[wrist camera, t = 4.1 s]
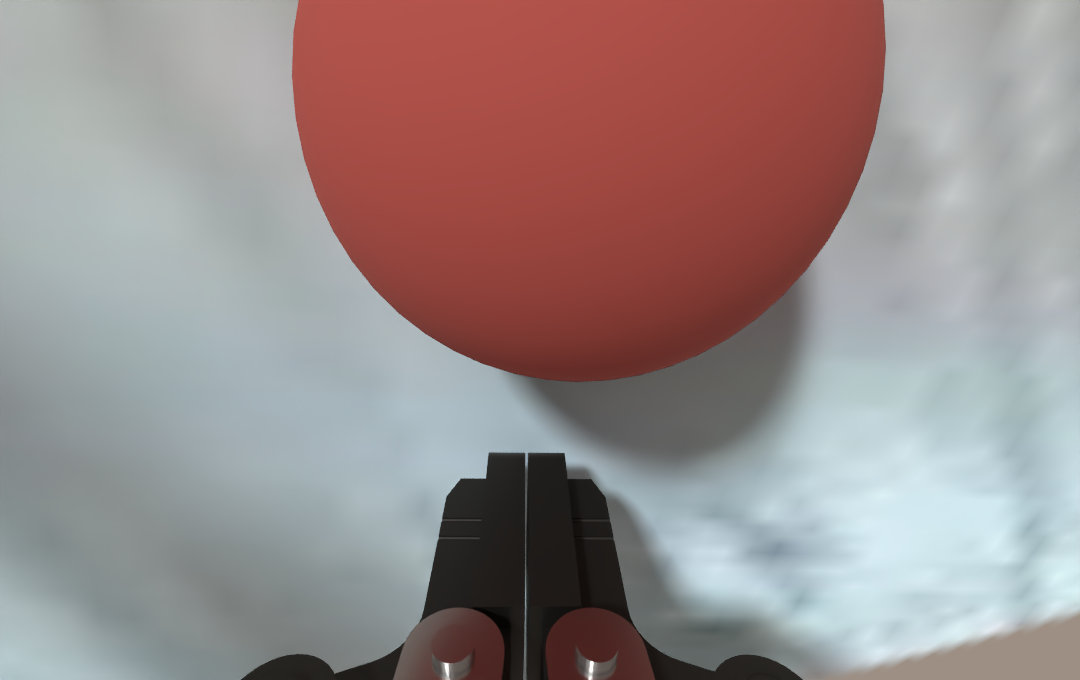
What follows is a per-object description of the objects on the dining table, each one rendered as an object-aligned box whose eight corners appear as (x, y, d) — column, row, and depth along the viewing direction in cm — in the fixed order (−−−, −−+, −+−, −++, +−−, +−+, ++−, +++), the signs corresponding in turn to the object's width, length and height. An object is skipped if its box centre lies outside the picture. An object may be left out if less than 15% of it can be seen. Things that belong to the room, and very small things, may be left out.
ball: (361, -113, 8) (-60, -671, 2) (775, -100, 8) (1356, -591, 2) (397, 287, 10) (236, 502, 5) (714, 291, 10) (928, 506, 5)
